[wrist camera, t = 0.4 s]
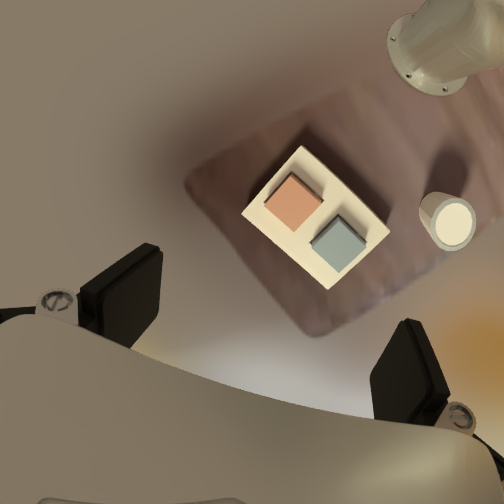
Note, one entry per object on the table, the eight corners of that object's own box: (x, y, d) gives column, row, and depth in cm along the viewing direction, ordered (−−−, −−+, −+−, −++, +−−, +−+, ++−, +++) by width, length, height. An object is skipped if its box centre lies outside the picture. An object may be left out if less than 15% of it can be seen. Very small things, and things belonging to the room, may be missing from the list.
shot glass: (411, 191, 37) (427, 202, 30) (453, 183, 35) (474, 193, 28) (417, 237, 39) (432, 256, 33) (457, 229, 37) (477, 246, 30)
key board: (302, 144, 38) (300, 145, 35) (386, 225, 39) (390, 231, 37) (246, 208, 43) (241, 213, 40) (327, 280, 44) (327, 289, 42)
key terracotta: (292, 173, 37) (290, 175, 35) (321, 199, 38) (321, 204, 36) (267, 201, 39) (263, 205, 37) (295, 226, 40) (293, 232, 38)
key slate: (337, 215, 38) (339, 220, 36) (364, 241, 38) (366, 247, 36) (312, 241, 40) (311, 248, 38) (338, 265, 40) (338, 273, 38)
